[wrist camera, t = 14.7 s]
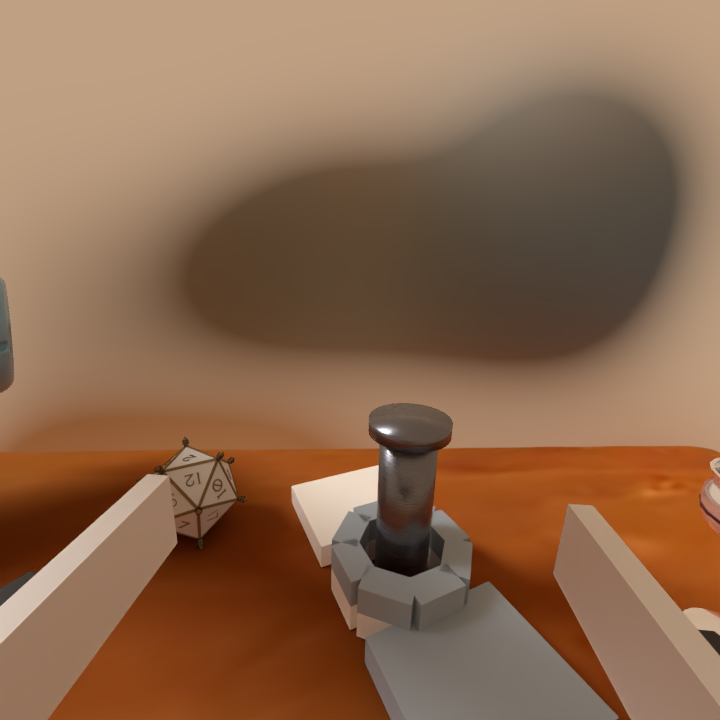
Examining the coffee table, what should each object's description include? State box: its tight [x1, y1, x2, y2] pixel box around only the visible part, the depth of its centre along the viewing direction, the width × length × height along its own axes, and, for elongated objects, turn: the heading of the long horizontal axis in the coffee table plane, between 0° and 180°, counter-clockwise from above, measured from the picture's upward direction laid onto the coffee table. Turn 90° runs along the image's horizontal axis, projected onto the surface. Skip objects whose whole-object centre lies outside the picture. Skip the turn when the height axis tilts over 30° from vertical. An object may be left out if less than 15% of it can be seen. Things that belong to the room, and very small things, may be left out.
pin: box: [369, 403, 453, 577], centre depth 26 cm, size 6×6×14 cm
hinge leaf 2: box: [331, 501, 619, 720], centre depth 24 cm, size 18×10×4 cm, turn 25°
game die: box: [136, 437, 248, 550], centre depth 33 cm, size 9×8×10 cm
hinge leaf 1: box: [291, 465, 441, 639], centre depth 31 cm, size 18×10×2 cm, turn 25°
